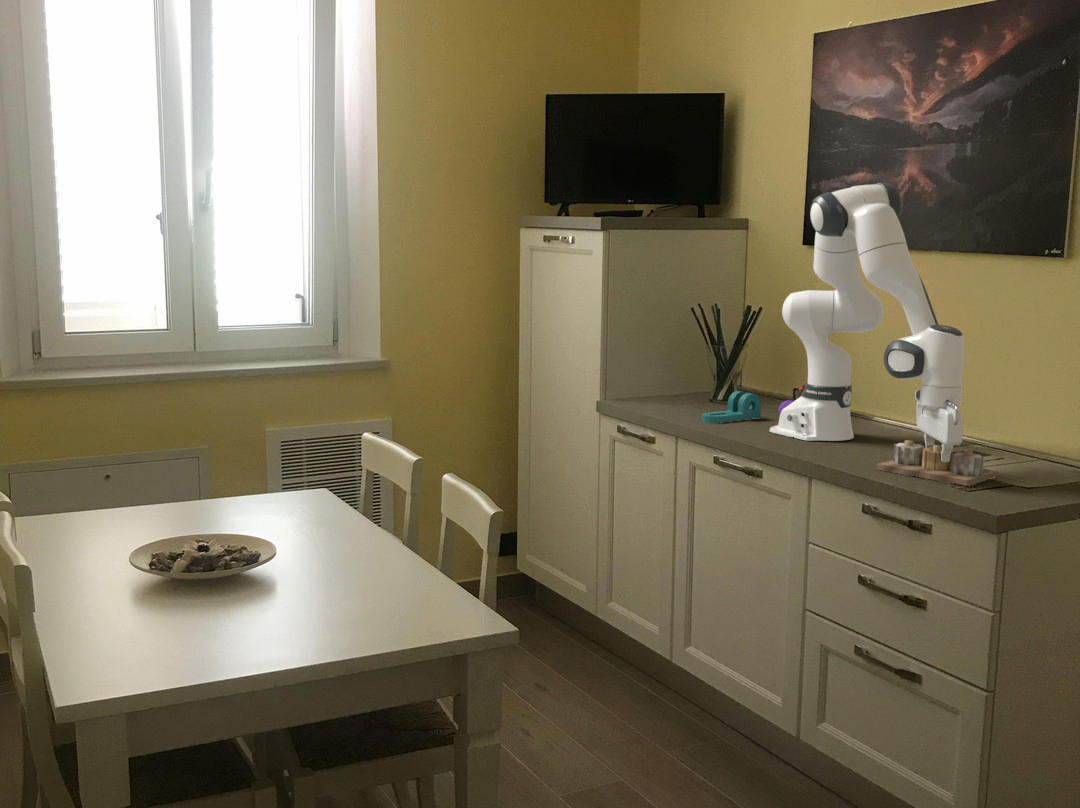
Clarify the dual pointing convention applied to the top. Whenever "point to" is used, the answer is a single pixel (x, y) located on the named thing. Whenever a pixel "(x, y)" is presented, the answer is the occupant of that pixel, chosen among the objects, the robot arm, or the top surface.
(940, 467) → the oak gear
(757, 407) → the bracket
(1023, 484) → the top surface
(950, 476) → the gear board
